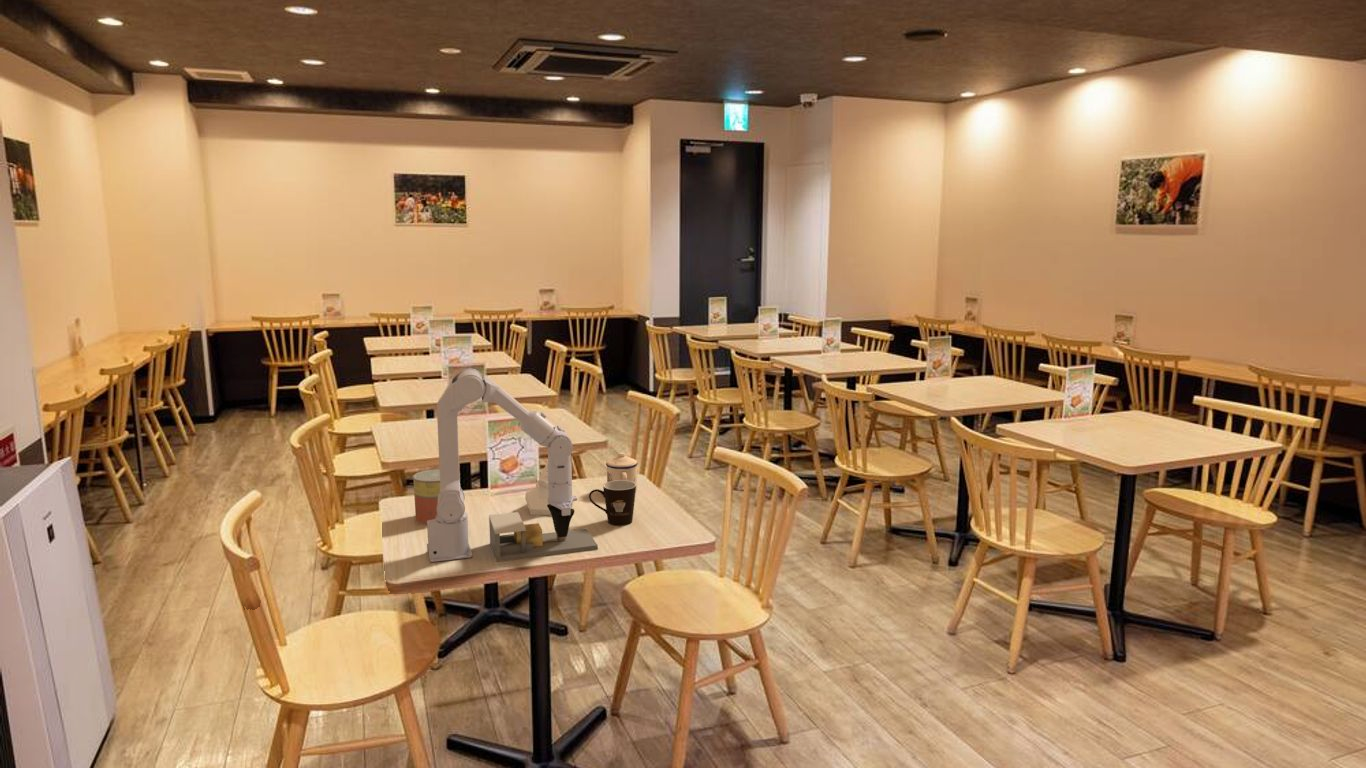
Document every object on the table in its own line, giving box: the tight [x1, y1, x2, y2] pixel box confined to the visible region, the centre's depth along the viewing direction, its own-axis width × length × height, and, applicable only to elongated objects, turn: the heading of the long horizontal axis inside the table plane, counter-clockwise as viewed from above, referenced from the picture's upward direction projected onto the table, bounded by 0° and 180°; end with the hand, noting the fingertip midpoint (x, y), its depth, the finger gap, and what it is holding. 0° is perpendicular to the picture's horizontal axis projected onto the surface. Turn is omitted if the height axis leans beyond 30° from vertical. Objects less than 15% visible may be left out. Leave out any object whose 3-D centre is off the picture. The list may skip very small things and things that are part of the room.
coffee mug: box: [588, 480, 637, 527], centre depth 225 cm, size 12×9×10 cm
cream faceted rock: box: [524, 462, 574, 516], centre depth 234 cm, size 12×15×14 cm
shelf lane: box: [488, 511, 599, 562], centre depth 207 cm, size 24×12×7 cm, turn 109°
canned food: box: [412, 468, 440, 527], centre depth 226 cm, size 11×11×12 cm
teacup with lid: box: [605, 452, 638, 494], centre depth 248 cm, size 12×9×12 cm
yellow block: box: [513, 522, 566, 547], centre depth 207 cm, size 12×5×5 cm, turn 109°
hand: (561, 534), depth 209 cm, fingers closed on yellow block, 2 cm apart
